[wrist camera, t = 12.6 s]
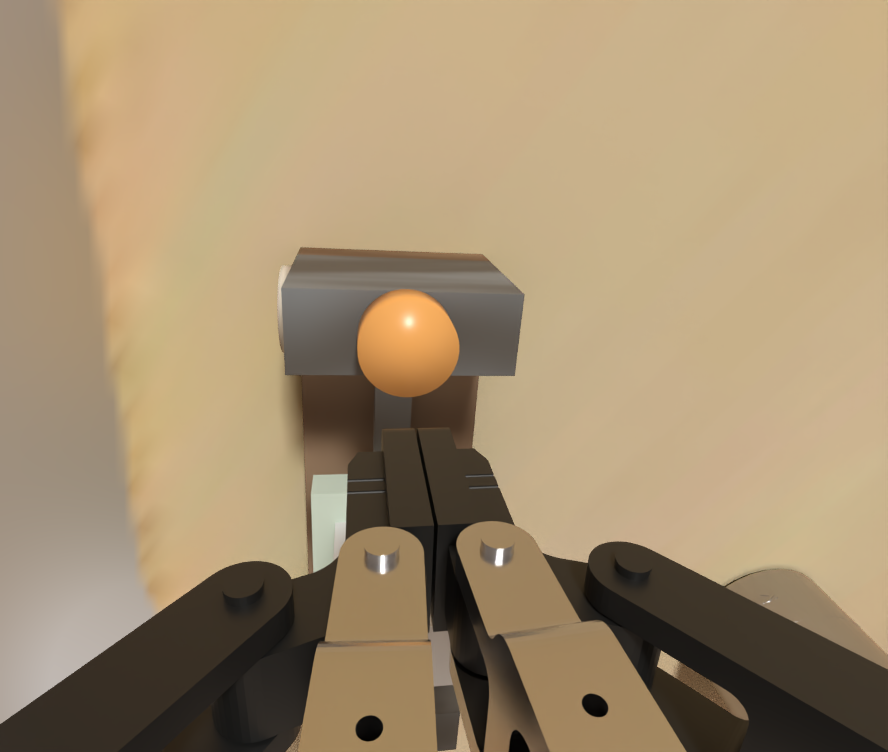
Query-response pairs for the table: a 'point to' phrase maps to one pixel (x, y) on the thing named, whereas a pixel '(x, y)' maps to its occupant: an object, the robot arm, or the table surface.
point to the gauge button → (406, 343)
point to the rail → (353, 396)
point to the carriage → (330, 538)
